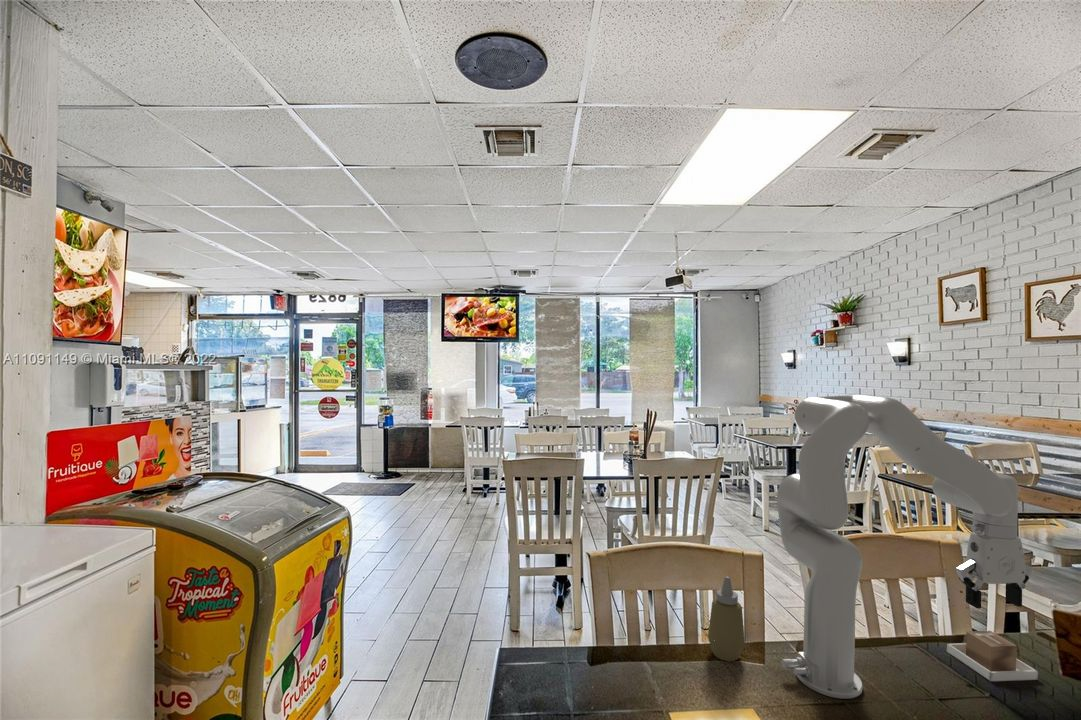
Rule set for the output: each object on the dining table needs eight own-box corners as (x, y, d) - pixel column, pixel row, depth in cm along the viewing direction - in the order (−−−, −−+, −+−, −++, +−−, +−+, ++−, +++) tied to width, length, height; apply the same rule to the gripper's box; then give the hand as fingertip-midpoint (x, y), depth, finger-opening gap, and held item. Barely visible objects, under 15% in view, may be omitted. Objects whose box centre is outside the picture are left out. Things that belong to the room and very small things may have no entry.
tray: (990, 683, 109) (991, 672, 109) (946, 653, 120) (947, 643, 120) (1037, 681, 110) (1037, 671, 110) (989, 651, 120) (989, 642, 120)
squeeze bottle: (738, 670, 112) (740, 589, 112) (702, 656, 117) (703, 578, 117) (748, 653, 119) (750, 576, 118) (714, 640, 123) (715, 567, 123)
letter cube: (990, 673, 111) (991, 646, 111) (965, 657, 117) (966, 631, 117) (1015, 672, 112) (1016, 645, 112) (989, 656, 118) (990, 630, 118)
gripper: (973, 536, 110) (973, 615, 110) (1048, 533, 111) (1046, 611, 111) (943, 524, 117) (943, 598, 118) (1013, 522, 118) (1012, 595, 119)
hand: (993, 604), depth 114 cm, fingers open, 9 cm apart
